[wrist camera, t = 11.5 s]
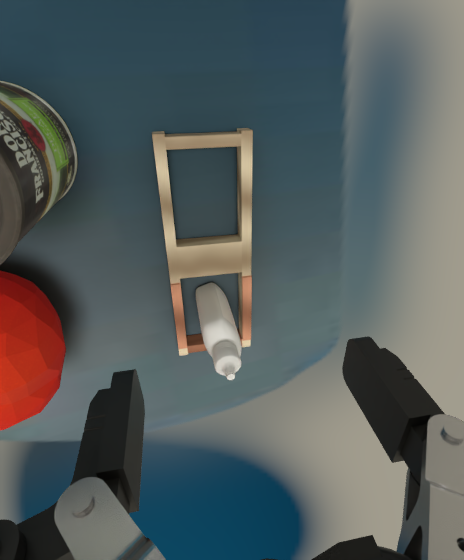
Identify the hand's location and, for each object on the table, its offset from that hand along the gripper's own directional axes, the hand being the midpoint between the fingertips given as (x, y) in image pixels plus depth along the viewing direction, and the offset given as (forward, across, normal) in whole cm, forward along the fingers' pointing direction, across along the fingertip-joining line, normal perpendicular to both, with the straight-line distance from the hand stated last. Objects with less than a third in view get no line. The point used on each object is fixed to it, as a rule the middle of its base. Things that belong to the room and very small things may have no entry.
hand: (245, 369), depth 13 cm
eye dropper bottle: (+24, -1, +13) cm, 27 cm away
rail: (+24, -1, +7) cm, 24 cm away
